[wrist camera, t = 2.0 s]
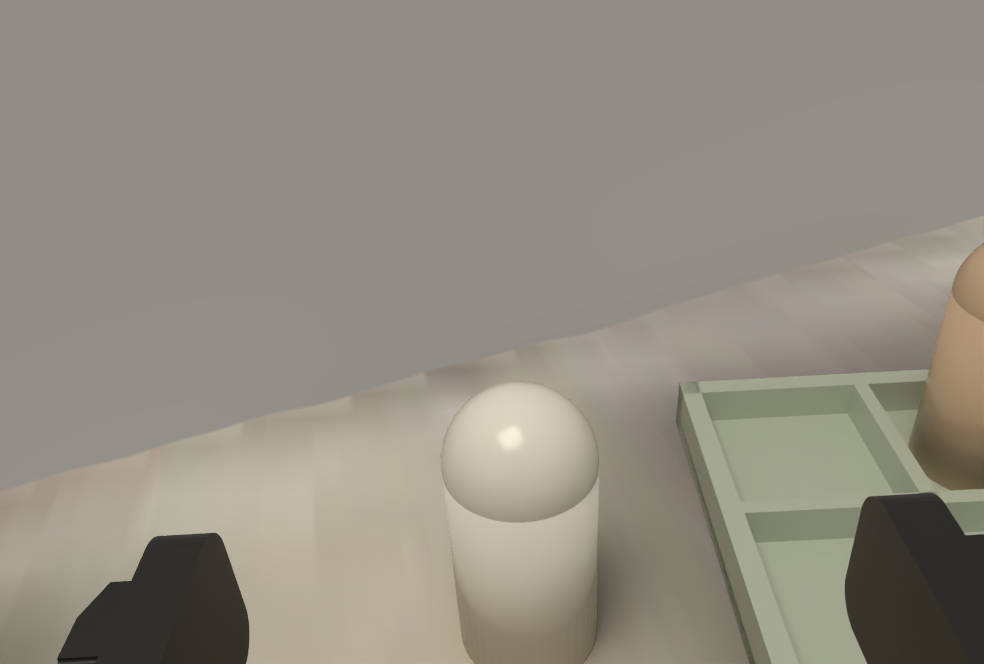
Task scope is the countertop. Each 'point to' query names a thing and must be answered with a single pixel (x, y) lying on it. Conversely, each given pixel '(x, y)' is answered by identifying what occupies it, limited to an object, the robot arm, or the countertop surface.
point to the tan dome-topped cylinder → (955, 388)
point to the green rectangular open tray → (802, 495)
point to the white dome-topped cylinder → (523, 525)
